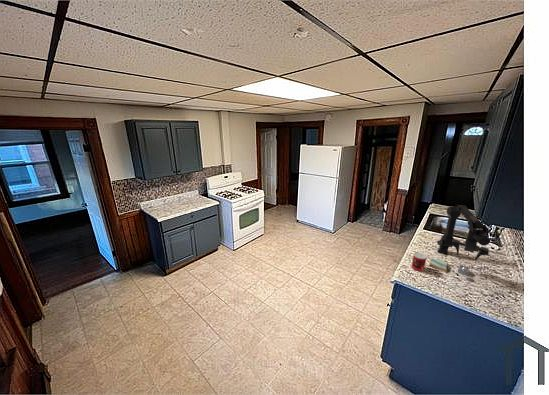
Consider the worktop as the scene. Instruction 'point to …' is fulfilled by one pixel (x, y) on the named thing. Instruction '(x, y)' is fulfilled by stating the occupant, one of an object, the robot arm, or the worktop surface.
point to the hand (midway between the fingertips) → (466, 257)
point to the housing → (463, 270)
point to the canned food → (418, 261)
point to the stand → (438, 264)
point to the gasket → (469, 279)
